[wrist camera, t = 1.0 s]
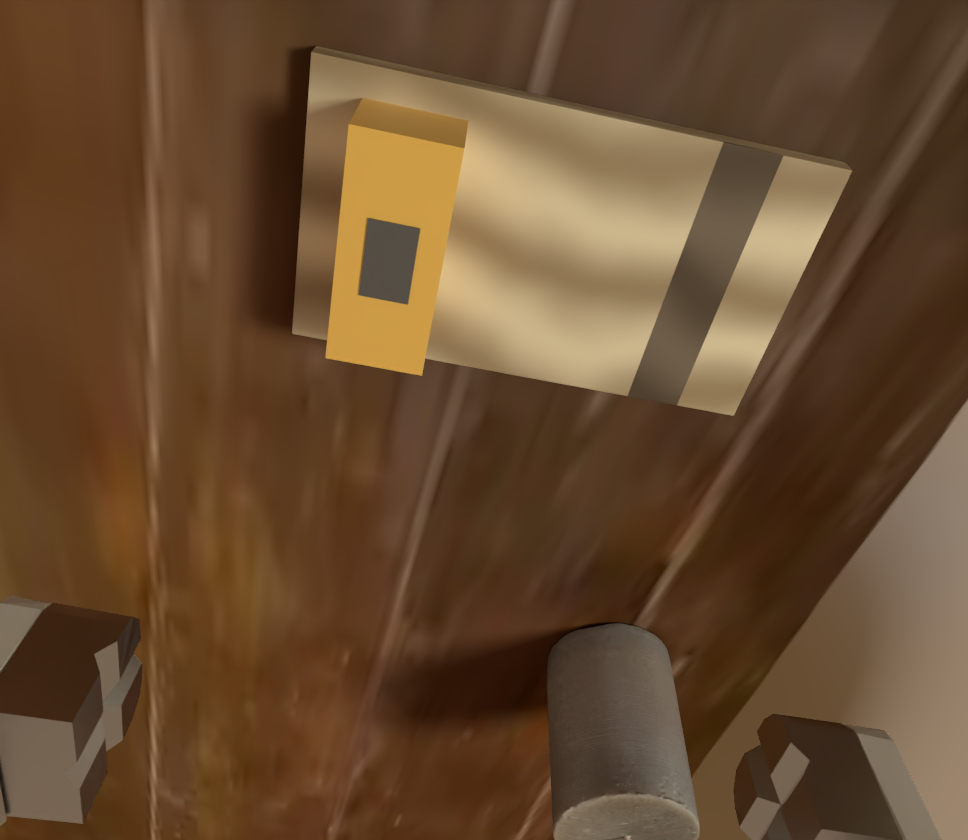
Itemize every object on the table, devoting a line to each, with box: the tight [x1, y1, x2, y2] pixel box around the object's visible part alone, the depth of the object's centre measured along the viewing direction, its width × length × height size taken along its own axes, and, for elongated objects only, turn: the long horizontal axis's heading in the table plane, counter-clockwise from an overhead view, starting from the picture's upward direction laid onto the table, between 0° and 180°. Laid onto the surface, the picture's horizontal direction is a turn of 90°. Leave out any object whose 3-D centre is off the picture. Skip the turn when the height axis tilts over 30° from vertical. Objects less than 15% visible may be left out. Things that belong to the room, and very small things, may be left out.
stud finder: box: [326, 98, 469, 376], centre depth 40 cm, size 12×5×4 cm, turn 169°
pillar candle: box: [547, 623, 699, 840], centre depth 58 cm, size 10×10×15 cm
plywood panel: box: [292, 46, 852, 416], centre depth 43 cm, size 15×26×1 cm, turn 79°
